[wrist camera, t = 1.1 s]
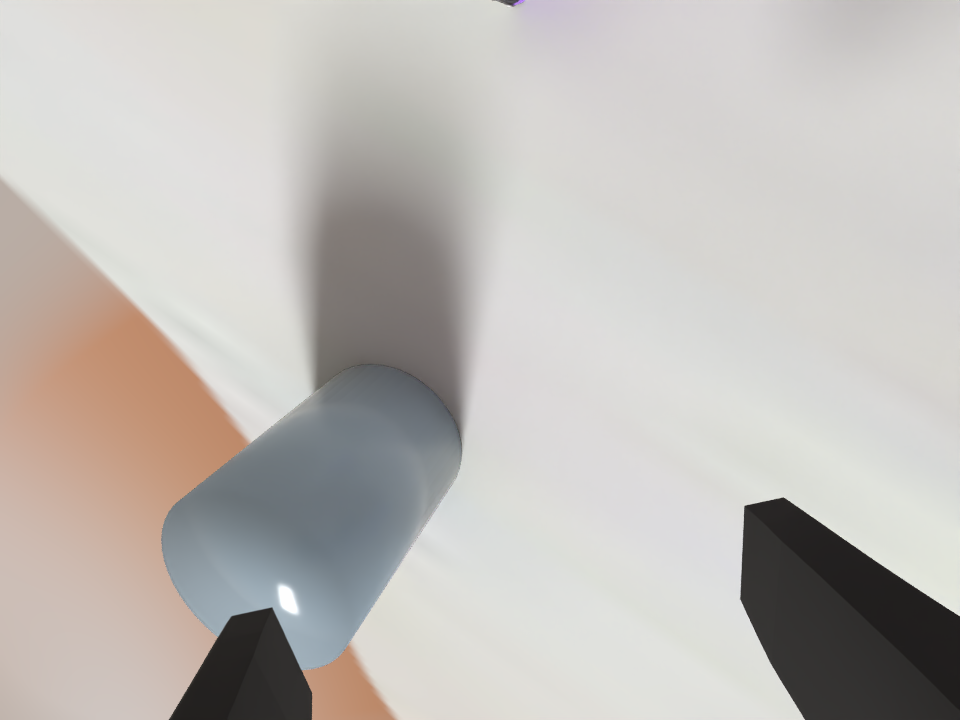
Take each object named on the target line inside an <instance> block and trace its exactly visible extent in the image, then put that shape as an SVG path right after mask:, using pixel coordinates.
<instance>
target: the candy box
mask: <svg viewBox="0 0 960 720" xmlns="http://www.w3.org/2000/svg"><path fill="white" fill-rule="evenodd" d="M494 1H498V2H501V3H504V4H505V5H506V6H507V7H514V6H515V5H517V4H520V3H522V2H524V1H525V0H494Z"/></svg>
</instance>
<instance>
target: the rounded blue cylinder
mask: <svg viewBox="0 0 960 720" xmlns="http://www.w3.org/2000/svg"><path fill="white" fill-rule="evenodd" d="M461 457H462V449H461V440H460V436H459V432H458V429H457V427H456V424H455V421H454V420H453V418H452V416H451V414H450V412H449V411H448V409H447V408H446V406H445V405H444V403H443V402H442V401H441V400H440V398H439V397H438V396H437V395H436V394H435V393H434V392H433V391H432V390H431V389H430V388H429V387H427V386H426V385H425V384H423V383H422V382H421V381H419V380H418V379H416V378H415V377H413V376H411V375H409V374H407V373H405V372H403V371H401V370H398V369H395V368H392V367H388V366H383V365H373V364H368V365H359V366H354V367H351V368H348V369H345V370H343V371H342V372H340V373H338V374H337V375H335V376H334V377H333V378H332V379H330V380H329V381H328V382H327V383H325V384H324V385H323V386H322V387H320V388H319V389H318V390H317V391H315V392H314V393H313V394H312V395H310V396H309V397H308V398H307V399H305V400H304V401H303V402H302V403H300V404H299V405H298V406H297V407H295V408H294V409H293V410H292V411H290V412H289V413H288V414H287V415H285V416H284V417H283V418H282V419H280V420H279V421H278V422H277V423H275V424H274V425H273V426H272V427H270V428H269V429H268V430H267V431H266V432H264V433H263V434H262V435H261V436H259V437H258V438H257V439H256V440H254V441H253V442H252V443H251V444H249V445H248V446H247V447H246V448H244V449H243V450H242V451H241V452H239V453H238V454H237V455H236V456H234V457H233V458H232V459H231V460H229V461H228V462H227V463H226V464H224V465H223V466H222V467H221V468H220V469H218V470H217V471H216V472H214V473H213V474H212V475H211V476H209V477H208V478H207V479H206V480H205V481H203V482H202V483H201V484H199V485H198V486H197V487H196V488H194V489H193V490H192V491H191V492H189V493H188V494H187V495H186V496H185V497H184V498H182V499H181V500H180V501H178V502H177V503H176V504H175V505H174V506H173V507H172V509H171V510H170V511H169V513H168V515H167V517H166V519H165V521H164V525H163V529H162V539H161V541H162V551H163V557H164V561H165V564H166V567H167V571H168V573H169V575H170V578H171V580H172V582H173V584H174V586H175V588H176V589H177V591H178V593H179V595H180V596H181V597H182V599H183V601H184V602H185V603H186V605H187V606H188V607H189V609H190V610H191V611H192V612H193V613H194V615H195V616H196V617H197V618H198V619H199V620H200V621H201V622H202V623H203V624H204V625H205V626H206V627H207V628H208V629H209V630H210V631H211V632H212V633H214V634H215V635H216V636H217V637H218V636H219V635H220V633H221V631H222V630H223V628H224V626H225V625H226V623H227V622H228V620H229V619H230V617H231V616H234V615H238V614H243V613H248V612H252V611H257V610H262V609H266V608H271V607H272V608H273V610H274V612H275V614H276V616H277V618H278V621H279V623H280V625H281V627H282V629H283V631H284V634H285V636H286V638H287V640H288V642H289V644H290V646H291V649H292V651H293V653H294V655H295V657H296V659H297V662H298V664H299V666H300V668H301V670H308V669H314V668H319V667H322V666H325V665H326V664H329V663H331V662H332V661H334V660H335V659H336V658H337V657H339V656H340V655H341V653H342V652H343V651H344V650H345V648H346V647H347V645H348V644H349V642H350V641H351V639H352V638H353V636H354V635H355V633H356V632H357V630H358V628H359V627H360V625H361V624H362V622H363V621H364V619H365V618H366V616H367V615H368V613H369V612H370V610H371V609H372V607H373V605H374V604H375V602H376V601H377V599H378V598H379V596H380V595H381V593H382V592H383V590H384V589H385V587H386V585H387V584H388V582H389V581H390V579H391V578H392V576H393V575H394V573H395V572H396V570H397V569H398V567H399V565H400V564H401V562H402V561H403V559H404V558H405V556H406V555H407V553H408V552H409V550H410V549H411V547H412V545H413V544H414V542H415V541H416V539H417V538H418V536H419V535H420V533H421V532H422V530H423V529H424V527H425V526H426V524H427V522H428V521H429V519H430V518H431V516H432V515H433V513H434V512H435V510H436V509H437V507H438V506H439V504H440V502H441V501H442V499H443V498H444V496H445V495H446V493H447V492H448V490H449V489H450V487H451V486H452V484H453V482H454V481H455V479H456V477H457V475H458V472H459V469H460V465H461Z"/></svg>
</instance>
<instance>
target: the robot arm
mask: <svg viewBox="0 0 960 720" xmlns="http://www.w3.org/2000/svg"><path fill="white" fill-rule="evenodd" d="M740 599H741V602H742V604H743V606H744V608H745V610H746V612H747V615H748V617H749V619H750V621H751V623H752V625H753V628H754V630H755V632H756V634H757V636H758V638H759V640H760V642H761V644H762V646H763V648H764V650H765V652H766V655H767V657H768V659H769V661H770V663H771V665H772V666H773V668H774V670H775V671H776V673H777V675H778V676H779V678H780V680H781V681H782V683H783V685H784V686H785V688H786V689H787V691H788V693H789V694H790V696H791V698H792V699H793V701H794V702H795V704H796V706H797V707H798V709H799V711H800V712H801V714H802V715H803V717H804V719H805V720H960V616H958V615H957V614H955V613H954V612H952V611H950V610H949V609H947V608H946V607H944V606H943V605H941V604H939V603H938V602H936V601H935V600H933V599H932V598H930V597H929V596H927V595H926V594H924V593H923V592H921V591H920V590H918V589H917V588H915V587H914V586H912V585H910V584H909V583H907V582H906V581H904V580H903V579H901V578H900V577H898V576H897V575H895V574H894V573H892V572H891V571H889V570H888V569H886V568H885V567H883V566H882V565H880V564H879V563H877V562H876V561H875V560H873V559H872V558H870V557H869V556H867V555H866V554H864V553H863V552H861V551H860V550H859V549H857V548H856V547H854V546H853V545H851V544H850V543H848V542H847V541H846V540H844V539H843V538H841V537H840V536H838V535H837V534H836V533H834V532H833V531H831V530H830V529H828V528H827V527H826V526H824V525H823V524H821V523H820V522H818V521H817V520H815V519H814V518H813V517H811V516H810V515H808V514H807V513H805V512H804V511H803V510H801V509H800V508H798V507H797V506H795V505H794V504H792V503H791V502H790V501H788V500H787V499H785V498H779V499H774V500H770V501H765V502H760V503H756V504H751V505H746V506H745V507H744V530H743V552H742V575H741V597H740ZM169 720H312V692H311V690H310V688H309V685H308V683H307V681H306V679H305V677H304V675H303V672H302V670H301V668H300V666H299V664H298V662H297V659H296V657H295V655H294V653H293V651H292V649H291V646H290V644H289V642H288V640H287V638H286V636H285V634H284V631H283V629H282V627H281V625H280V623H279V621H278V618H277V616H276V614H275V612H274V610H273V608H272V607H271V608H266V609H262V610H257V611H252V612H248V613H243V614H238V615H234V616H231V617H230V619H229V620H228V622H227V623H226V625H225V626H224V628H223V630H222V631H221V633H220V635H219V636H218V638H217V640H216V642H215V643H214V645H213V647H212V649H211V650H210V652H209V653H208V655H207V657H206V658H205V660H204V662H203V664H202V665H201V667H200V669H199V670H198V672H197V674H196V676H195V677H194V679H193V681H192V682H191V684H190V686H189V687H188V689H187V691H186V692H185V694H184V696H183V697H182V699H181V701H180V703H179V704H178V706H177V707H176V709H175V711H174V712H173V714H172V716H171V717H170V719H169Z"/></svg>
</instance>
